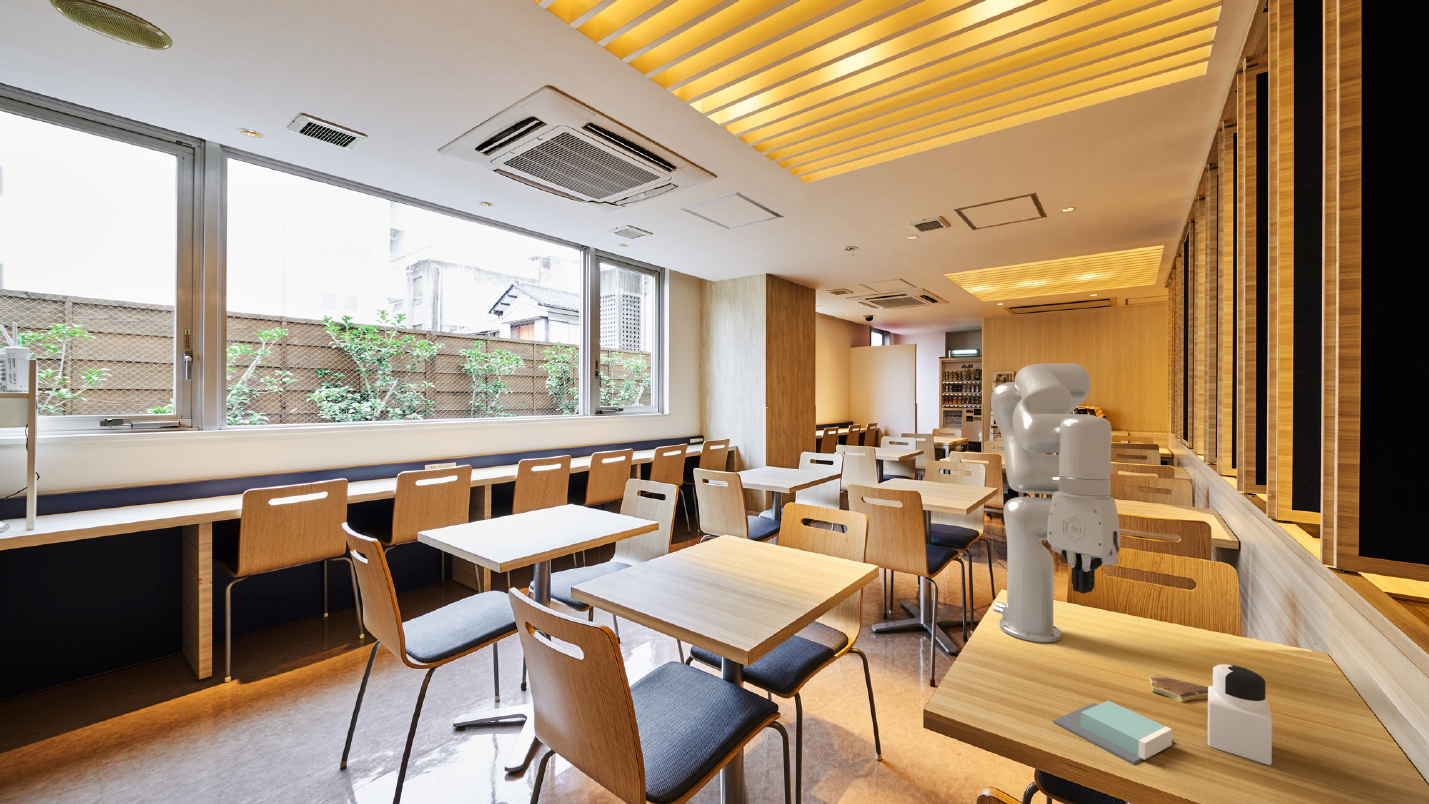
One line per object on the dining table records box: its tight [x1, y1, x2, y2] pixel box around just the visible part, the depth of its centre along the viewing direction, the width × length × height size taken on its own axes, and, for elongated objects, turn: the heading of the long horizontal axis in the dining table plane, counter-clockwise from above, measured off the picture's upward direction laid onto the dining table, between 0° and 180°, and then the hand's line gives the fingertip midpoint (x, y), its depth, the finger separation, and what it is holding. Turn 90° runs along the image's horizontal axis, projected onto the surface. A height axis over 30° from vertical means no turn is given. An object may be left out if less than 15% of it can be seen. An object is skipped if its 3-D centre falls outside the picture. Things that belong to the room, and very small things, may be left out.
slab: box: [1081, 700, 1173, 760], centre depth 89 cm, size 2×8×9 cm
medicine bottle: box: [1207, 664, 1273, 766], centre depth 88 cm, size 7×7×12 cm
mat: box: [1052, 702, 1175, 765], centre depth 91 cm, size 12×12×1 cm
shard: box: [1148, 674, 1209, 703], centre depth 103 cm, size 11×8×2 cm
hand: (1082, 590), depth 97 cm, fingers closed
